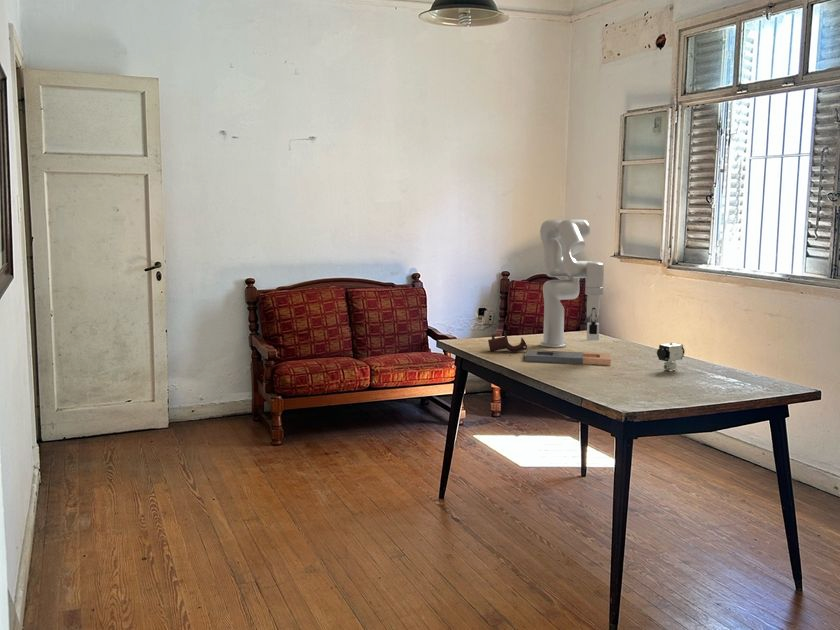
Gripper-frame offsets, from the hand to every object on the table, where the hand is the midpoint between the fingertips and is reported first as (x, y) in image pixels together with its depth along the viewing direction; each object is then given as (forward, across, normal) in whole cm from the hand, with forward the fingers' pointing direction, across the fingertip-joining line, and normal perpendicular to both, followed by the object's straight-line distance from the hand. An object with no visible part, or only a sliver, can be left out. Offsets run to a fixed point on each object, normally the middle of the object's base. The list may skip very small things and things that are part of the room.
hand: (593, 332), depth 348 cm
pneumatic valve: (+14, +11, +32) cm, 36 cm away
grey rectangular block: (+3, 0, 0) cm, 3 cm away
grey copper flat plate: (+13, -1, -10) cm, 16 cm away
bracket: (+12, -14, -38) cm, 43 cm away
